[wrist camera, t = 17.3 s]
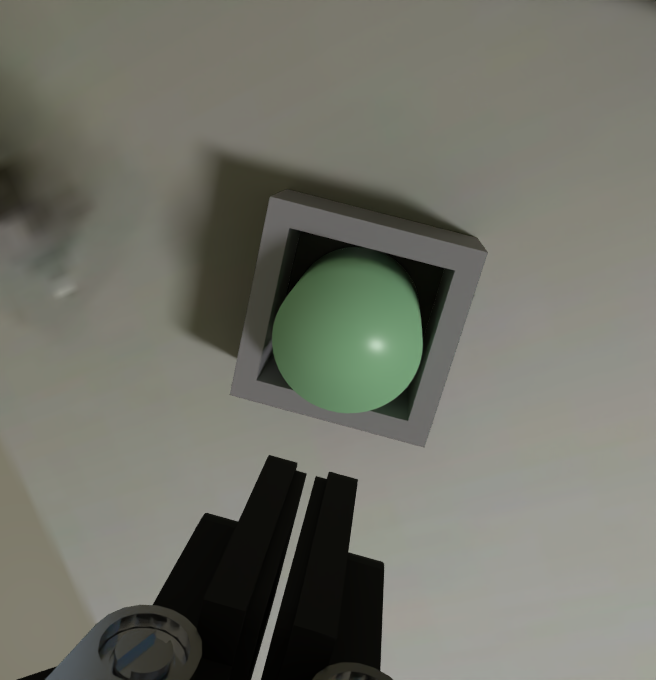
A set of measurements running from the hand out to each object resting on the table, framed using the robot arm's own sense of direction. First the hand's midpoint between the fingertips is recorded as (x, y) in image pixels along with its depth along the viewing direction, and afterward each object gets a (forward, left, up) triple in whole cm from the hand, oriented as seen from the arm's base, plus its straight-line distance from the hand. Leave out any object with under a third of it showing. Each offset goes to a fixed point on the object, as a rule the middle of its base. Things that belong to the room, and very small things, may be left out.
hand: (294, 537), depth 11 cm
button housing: (+1, 0, -13) cm, 13 cm away
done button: (+1, 0, -12) cm, 12 cm away
